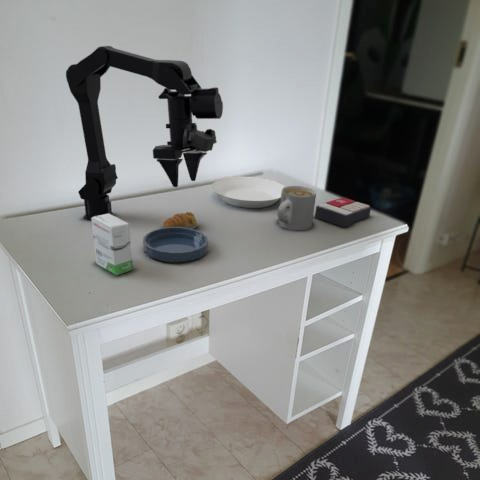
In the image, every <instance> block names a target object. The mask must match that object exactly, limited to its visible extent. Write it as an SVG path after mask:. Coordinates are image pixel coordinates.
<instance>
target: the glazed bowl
mask: <svg viewBox="0 0 480 480" xmlns="http://www.w3.org/2000/svg"><path fill="white" fill-rule="evenodd" d="M142 244H143V251H144V253H145V254H146V255H147V256H149V257H150V258H152V259H155V260H157V261H160V262H164V263H178V264H179V263H189V262H192V261H194V260H198V259H200V258H202V257H204V256H205V255H206V254H207V252H208V250H209V240H208V236H207V235H206V234H204V233H203V232H202V231H200V230H197V229H195V228H194V229H190V228H183V227H167V228H163V227H160V228H157V229H153V230H151V231H149V232H147V233H146V234H145V235H143V240H142Z"/></svg>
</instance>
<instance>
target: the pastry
mask: <svg viewBox="0 0 480 480" xmlns="http://www.w3.org/2000/svg"><path fill="white" fill-rule="evenodd" d="M197 226H198V221H197V219H196V216H195V214H194V213H193V212H192V211H191V212H189V211H186V212H185V213H184V212H182V213H176V214H174V215H173V216H172V217H169V218H167V219H166V220H164V221H163V225H162V228H167V227H183V228H190V229H194V230H195V229H196V228H197Z"/></svg>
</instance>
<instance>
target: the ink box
mask: <svg viewBox="0 0 480 480" xmlns="http://www.w3.org/2000/svg"><path fill="white" fill-rule="evenodd" d="M90 221H91V228H92V236H93V244H94V253H95V261H96V265H98V266H100V267H101V268H103V269H105V270H107V271H108V272H110V273H111V274H113V275H114V276H120V275H123V274H124V273H128V272H130V271H132V270H133V258H132V247H131V233H130V223H129V222H126V221H124V220H123V219H120V218H119V217H117V216H115V215H114V214H113V215H111V214H109V213H108V214H104V215H99V216H95V217H92V218H91V220H90Z"/></svg>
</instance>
